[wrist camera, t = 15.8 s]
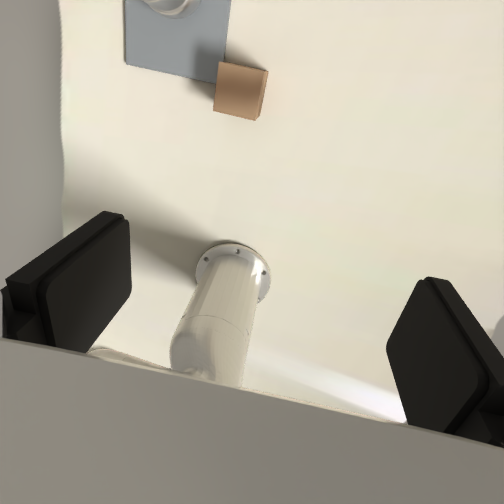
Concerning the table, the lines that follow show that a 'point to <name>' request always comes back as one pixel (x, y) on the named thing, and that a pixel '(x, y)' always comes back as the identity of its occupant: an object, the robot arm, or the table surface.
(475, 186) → the table surface
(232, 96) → the walnut block
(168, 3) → the plastic bottle
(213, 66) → the slate mat
